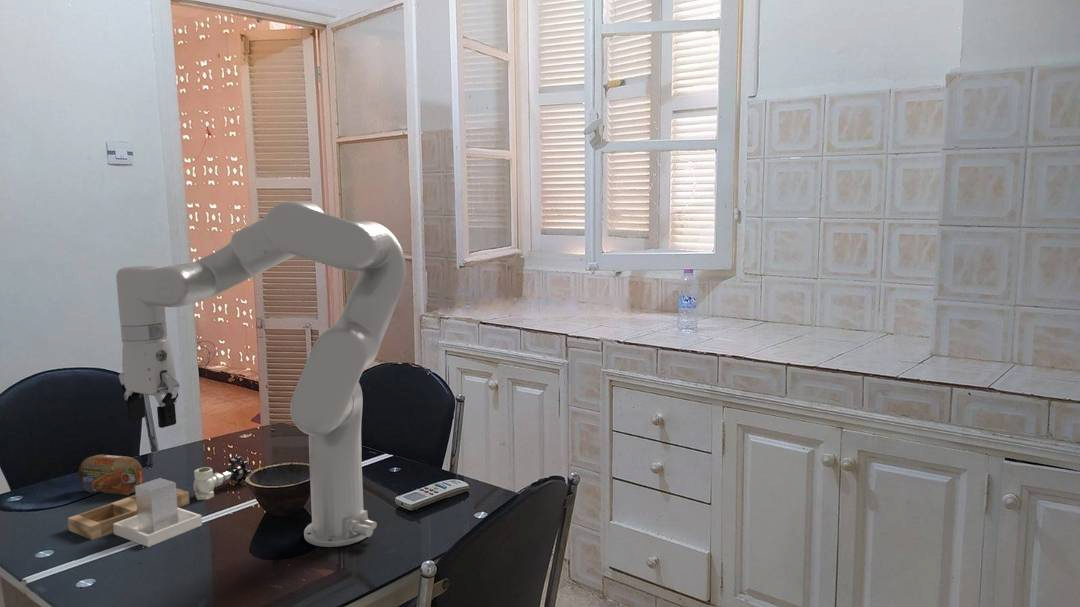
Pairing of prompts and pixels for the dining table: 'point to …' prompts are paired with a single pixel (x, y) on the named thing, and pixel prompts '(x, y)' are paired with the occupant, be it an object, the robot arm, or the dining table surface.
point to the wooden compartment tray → (111, 516)
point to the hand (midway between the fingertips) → (151, 422)
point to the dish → (131, 532)
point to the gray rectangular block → (156, 505)
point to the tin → (110, 474)
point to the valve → (218, 478)
